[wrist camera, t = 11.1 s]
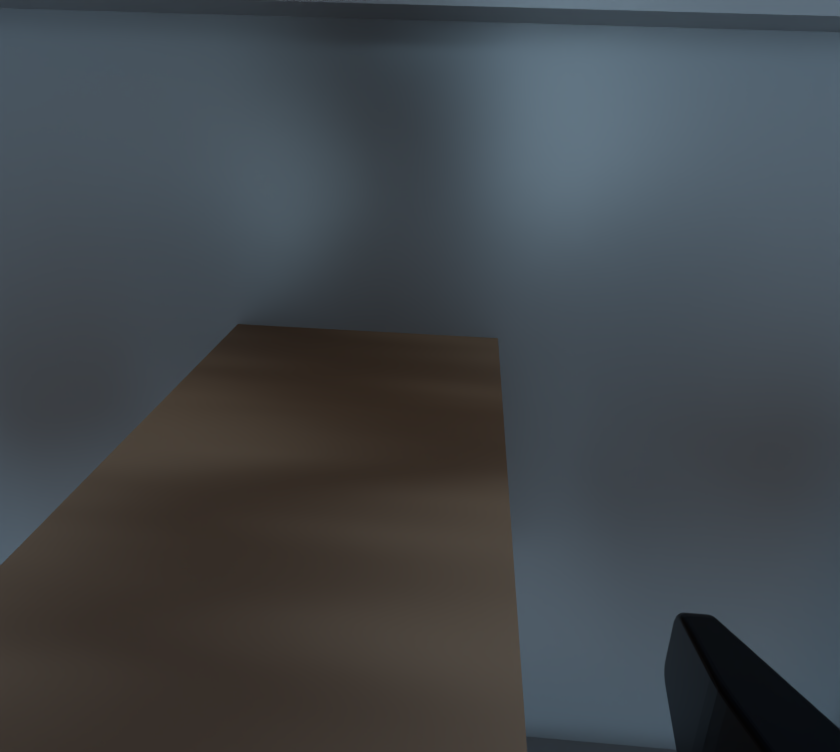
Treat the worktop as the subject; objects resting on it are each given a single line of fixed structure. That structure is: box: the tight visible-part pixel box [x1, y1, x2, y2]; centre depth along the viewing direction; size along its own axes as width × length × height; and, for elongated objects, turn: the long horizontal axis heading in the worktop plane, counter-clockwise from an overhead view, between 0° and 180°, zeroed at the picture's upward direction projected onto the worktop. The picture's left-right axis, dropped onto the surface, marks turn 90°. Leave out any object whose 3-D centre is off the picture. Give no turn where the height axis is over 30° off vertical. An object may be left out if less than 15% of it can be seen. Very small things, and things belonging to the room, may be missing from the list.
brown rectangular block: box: [0, 324, 527, 752], centre depth 8 cm, size 5×5×10 cm
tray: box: [0, 0, 840, 752], centre depth 12 cm, size 22×16×3 cm
